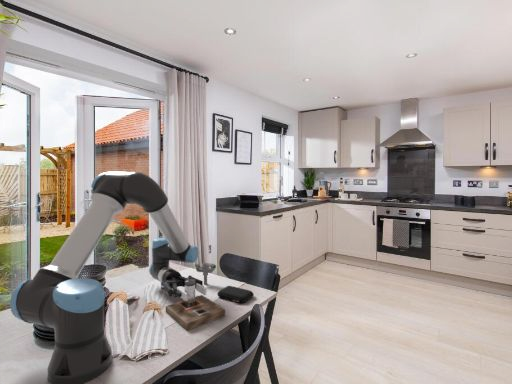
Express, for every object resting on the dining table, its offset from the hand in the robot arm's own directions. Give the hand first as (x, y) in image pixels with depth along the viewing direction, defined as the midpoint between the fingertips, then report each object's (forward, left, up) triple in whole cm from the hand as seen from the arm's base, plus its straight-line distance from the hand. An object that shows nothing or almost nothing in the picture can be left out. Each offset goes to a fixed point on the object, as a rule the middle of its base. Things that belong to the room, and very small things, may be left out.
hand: (196, 294), depth 109 cm
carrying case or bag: (+21, +3, -9) cm, 23 cm away
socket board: (0, +1, -8) cm, 8 cm away
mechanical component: (+19, +24, -8) cm, 32 cm away
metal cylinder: (0, +5, -8) cm, 9 cm away
